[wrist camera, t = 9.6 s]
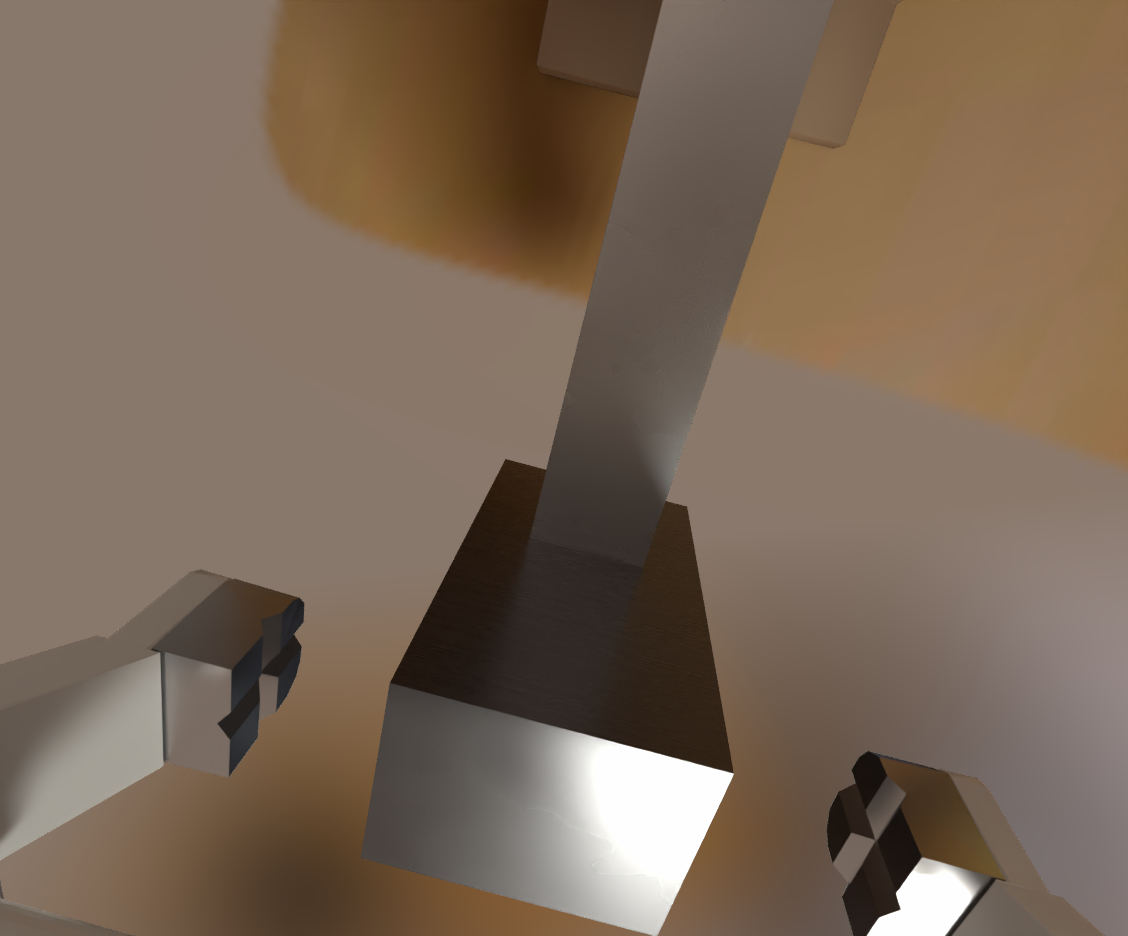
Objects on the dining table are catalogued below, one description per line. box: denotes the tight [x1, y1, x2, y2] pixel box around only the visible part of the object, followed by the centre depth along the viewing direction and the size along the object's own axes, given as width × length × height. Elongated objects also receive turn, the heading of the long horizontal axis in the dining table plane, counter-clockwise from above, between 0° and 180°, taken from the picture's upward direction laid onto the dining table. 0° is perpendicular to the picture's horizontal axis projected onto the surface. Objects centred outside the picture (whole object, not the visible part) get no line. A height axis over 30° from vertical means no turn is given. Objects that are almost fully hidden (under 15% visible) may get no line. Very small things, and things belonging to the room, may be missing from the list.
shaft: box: [361, 0, 834, 936], centre depth 9 cm, size 4×14×7 cm, turn 167°
